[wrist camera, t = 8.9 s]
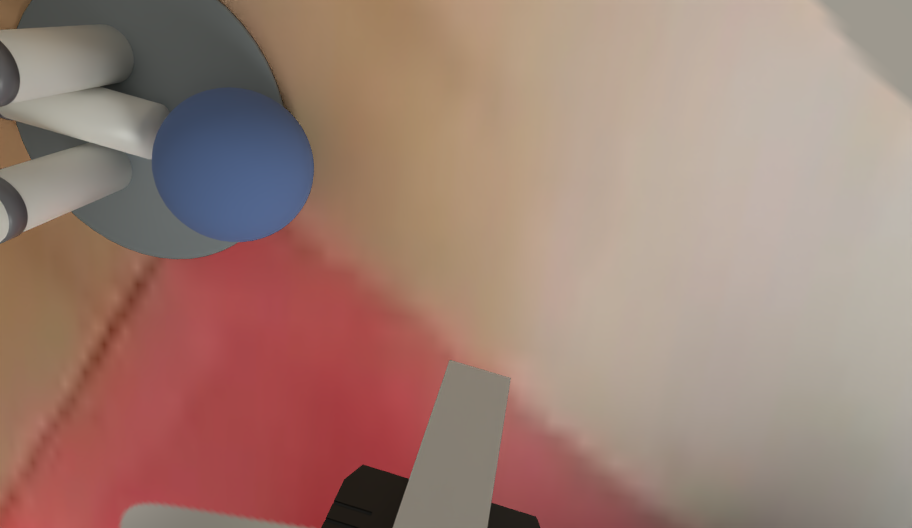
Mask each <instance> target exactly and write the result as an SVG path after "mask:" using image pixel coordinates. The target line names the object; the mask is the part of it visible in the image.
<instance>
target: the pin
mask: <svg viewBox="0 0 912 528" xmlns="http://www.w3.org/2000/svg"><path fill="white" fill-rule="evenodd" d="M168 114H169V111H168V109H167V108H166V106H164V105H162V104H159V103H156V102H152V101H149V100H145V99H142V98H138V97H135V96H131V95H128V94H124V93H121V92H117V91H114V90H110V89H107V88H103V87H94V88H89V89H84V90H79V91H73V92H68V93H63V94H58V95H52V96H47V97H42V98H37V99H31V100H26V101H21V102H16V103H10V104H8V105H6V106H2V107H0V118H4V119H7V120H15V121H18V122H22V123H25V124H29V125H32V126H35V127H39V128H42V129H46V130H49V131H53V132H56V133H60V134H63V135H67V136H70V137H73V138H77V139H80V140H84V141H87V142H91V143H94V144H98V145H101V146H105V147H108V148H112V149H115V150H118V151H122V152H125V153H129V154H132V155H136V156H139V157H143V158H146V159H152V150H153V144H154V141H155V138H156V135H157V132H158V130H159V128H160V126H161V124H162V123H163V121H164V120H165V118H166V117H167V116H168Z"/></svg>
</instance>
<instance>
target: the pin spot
mask: <svg viewBox="0 0 912 528" xmlns="http://www.w3.org/2000/svg"><path fill="white" fill-rule="evenodd" d="M96 24H105V25H109V26H111V27H113V28H115V29H117V30H118V31H119V32H121V33H122V34H123V35H124V37H125V38H126V39H127V41H128V42H129V44H130V46H131V49H132V52H133V57H134V65H133V70H132V72H131V74H130V76H129V77H128V78H127V79H126V80H124V81H122V82H120V83H115V84H110V85H105V86H100V87H103V88H107V89H110V90H114V91H117V92H121V93H124V94H128V95H131V96H135V97H138V98H142V99H145V100H149V101H152V102H156V103H159V104H162V105H164V106H166V108H167V109H168V111H169V113H170V112H171V111H172V110H173V109H174V108H175V107H176V106H177V105H179V104H180V103H181V102H183V101H184V100H186V99H187V98H189V97H191V96H193V95H195V94H197V93H200V92H203V91H206V90H211V89H216V88H227V87H232V88H242V89H247V90H252V91H255V92H258V93H261V94H263V95H265V96H267V97H269V98H271V99H273V100H274V101H276V102H277V103H279V104H280V105H282V106H283V102H282V98H281V95H280V92H279V89H278V86H277V83H276V80H275V78H274V76H273V73H272V71H271V69H270V67H269V64H268V62H267V60H266V59H265V57H264V55H263V53H262V52H261V50H260V48H259V47H258V45H257V43H256V42H255V40H254V39H253V38H252V36H251V35H250V34H249V32H248V31H247V30H246V28H245V27H244V25H243V24H242V23H241V22H240V21H239V20H238V19H237V18H236V17H235V16H234V14H233V13H232V12H231V11H230V10H229V9H228V8H227V7H226V6H225V5H223V4H222V3H221V2H220V1H219V0H32V1H31V2H30V4H29V6H28V7H27V9H26V10H25V12H24V13H23V16H22V18H21V20H20V22H19V25H18V27H17V29H25V28H42V27H60V26H78V25H96ZM16 124H17V127H18V129H19V132H20V135H21V138H22V141H23V143H24V145H25V147H26V149H27V151H28V154H29V156H30V158H31V160H33V159H36V158H39V157H43V156H46V155H49V154H53V153H56V152H59V151H62V150H66V149H69V148H72V147H76V146H79V145H82V144H85V143H89V142H87V141H84V140H80V139H77V138H73V137H70V136H67V135H63V134H60V133H56V132H53V131H49V130H46V129H42V128H39V127H35V126H32V125H29V124H25V123H22V122H18V121H16ZM125 154H126V155H127V157H128V159H129V161H130V163H131V167H132V177H131V180H130V182H129V184H128V185H127V186H126V187H125V188H124V189H122V190H119V191H117V192H115V193H112V194H110V195H108V196H106V197H103V198H101V199H99V200H96V201H94V202H92V203H89V204H87V205H85V206H82V207H80V208H78V209H76V210H73V211H71V212H72V213H73V214H74V215H75V216H77V217H78V218H79V219H80V220H81V221H82V222H84V223H85V224H86V225H88V226H89V227H90V228H92V229H93V230H94V231H96V232H97V233H99V234H101V235H102V236H104V237H106V238H107V239H109V240H111V241H113V242H115V243H117V244H119V245H121V246H123V247H125V248H128V249H130V250H133V251H136V252H139V253H142V254H146V255H150V256H155V257H159V258H169V259H192V258H198V257H204V256H208V255H211V254H214V253H217V252H220V251H223V250H225V249H227V248H229V247H231V246H233V245H235V244H236V243H238V242H228V241H220V240H216V239H212V238H209V237H206V236H204V235H201V234H199V233H197V232H196V231H194V230H192V229H190V228H189V227H187V226H186V225H185V224H183V223H182V222H181V221H180V220H179V219H178V218H177V217H175V216H174V215H173V214H172V212H171V211H170V210H169V209H168V207H167V206H166V205H165V203H164V201H163V200H162V198H161V196H160V194H159V192H158V190H157V187H156V185H155V181H154V177H153V172H152V159H146V158H143V157H139V156H136V155H132V154H129V153H125Z"/></svg>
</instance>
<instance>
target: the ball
mask: <svg viewBox="0 0 912 528" xmlns="http://www.w3.org/2000/svg"><path fill="white" fill-rule="evenodd" d="M152 172H153V177H154V181H155V185H156V187H157V190H158V192H159V194H160V196H161V198H162V200H163V201H164V203H165V205H166V206H167V207H168V209H169V210H170V211H171V212H172V214H173V215H174V216H175V217H177V218H178V219H179V220H180V221H181V222H182V223H183V224H185V225H186V226H187V227H189V228H190V229H192V230H194V231H196V232H197V233H199V234H201V235H204V236H206V237H209V238H212V239H216V240H220V241H228V242H246V241H253V240H257V239H261V238H264V237H267V236H269V235H272V234H274V233H275V232H277V231H279V230H281V229H282V228H283V227H285V226H286V225H288V224H289V223H290V222H291V221H292V220H293V219H294V218H295V217H296V216H297V214H298V213H299V212H300V211H301V209H302V208H303V206H304V204H305V203H306V201H307V198H308V196H309V194H310V190H311V187H312V183H313V176H314V162H313V154H312V150H311V147H310V144H309V141H308V139H307V136H306V134H305V132H304V131H303V129H302V127H301V126H300V124H299V123H298V122H297V120H296V119H295V118H294V117H293V116H292V114H291V113H290V112H289V111H288V110H286V109H285V108H284V107H283V106H282V105H280V104H279V103H277V102H276V101H274V100H273V99H271V98H269V97H267V96H265V95H263V94H261V93H258V92H255V91H252V90H247V89H242V88H232V87H227V88H216V89H211V90H206V91H203V92H200V93H197V94H195V95H193V96H191V97H189V98H187V99H186V100H184V101H183V102H181V103H180V104H179V105H177V106H176V107H175V108H174V109H173V110H172V111H171V112H170V113H169V114H168V116H167V117H166V118H165V120H164V121H163V123H162V124H161V126H160V128H159V130H158V132H157V135H156V138H155V141H154V144H153V150H152Z"/></svg>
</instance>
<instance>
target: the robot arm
mask: <svg viewBox="0 0 912 528" xmlns="http://www.w3.org/2000/svg"><path fill="white" fill-rule="evenodd" d="M510 379H511V378H509V377H505V376H502V375H499V374H495V373H492V372H489V371H485V370H482V369H479V368H475V367H472V366H469V365H465V364H462V363H459V362H455V361H452V360H449V363H448V366H447V369H446V372H445V375H444V378H443V381H442V384H441V387H440V390H439V393H438V396H437V399H436V402H435V405H434V408H433V411H432V413H431V416H430V419H429V422H428V425H427V428H426V431H425V434H424V437H423V440H422V443H421V446H420V449H419V452H418V455H417V458H416V461H415V464H414V466H413V469H412V472H411V475H410V478H409V479H408V478H404V477H401V476H398V475H395V474H391V473H388V472H385V471H382V470H379V469H375V468H372V467H369V466H366V465H362V466H361V467H359V468H358V469H357V470H356V471H354V472H353V473H352V474H351V475H349V476H348V477H347V478H346V479H344V481H343V483H342V486H341V488H340V490H339V492H338V494H337V496H336V498H335V500H334V503H333V504H332V506H331V509H330V511H329V513H328V515H327V517H326V520H325V522H324V523H323V525H322V527H321V528H540V525H539V523H538V520H537V518H536V517H535V516H532V515H529V514H526V513H522V512H519V511H516V510H513V509H509V508H506V507H503V506H500V505H497V504H493V503H491V501H492V495H493V488H494V482H495V475H496V469H497V462H498V456H499V450H500V443H501V437H502V430H503V424H504V418H505V411H506V405H507V398H508V392H509V386H510Z"/></svg>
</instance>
